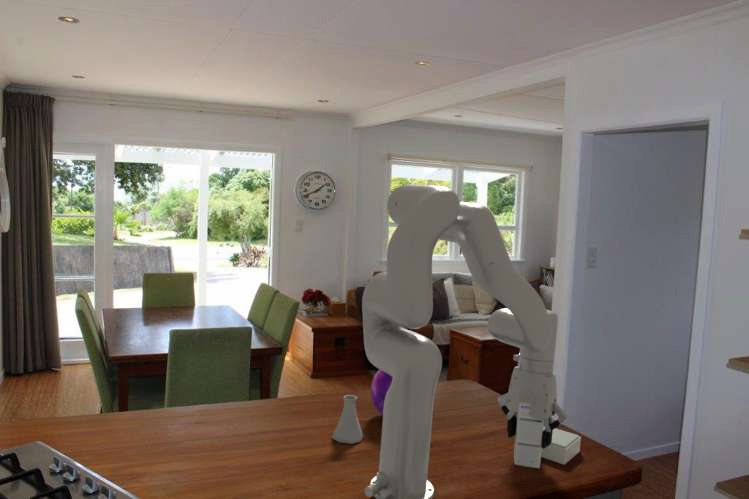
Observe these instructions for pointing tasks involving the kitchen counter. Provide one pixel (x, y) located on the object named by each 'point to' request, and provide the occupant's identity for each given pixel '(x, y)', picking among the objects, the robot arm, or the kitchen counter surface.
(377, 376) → the decorative orb
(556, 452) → the block
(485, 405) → the kitchen counter surface
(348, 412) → the flask
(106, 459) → the kitchen counter surface
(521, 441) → the syrup box
